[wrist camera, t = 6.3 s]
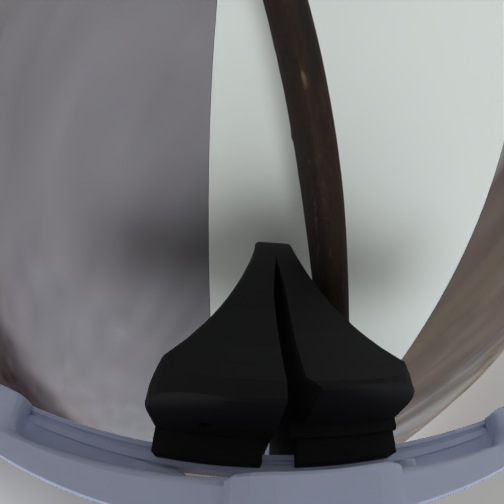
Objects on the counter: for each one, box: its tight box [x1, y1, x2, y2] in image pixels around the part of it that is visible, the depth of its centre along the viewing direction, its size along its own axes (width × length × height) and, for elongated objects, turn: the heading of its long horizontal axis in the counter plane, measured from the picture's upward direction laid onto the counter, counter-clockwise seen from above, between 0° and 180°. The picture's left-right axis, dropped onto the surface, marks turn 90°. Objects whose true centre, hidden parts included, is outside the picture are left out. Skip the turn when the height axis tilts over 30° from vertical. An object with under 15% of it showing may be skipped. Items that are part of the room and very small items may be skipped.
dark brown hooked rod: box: [263, 0, 349, 321], centre depth 11 cm, size 5×5×30 cm
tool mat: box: [209, 0, 504, 360], centre depth 12 cm, size 28×12×1 cm, turn 176°
